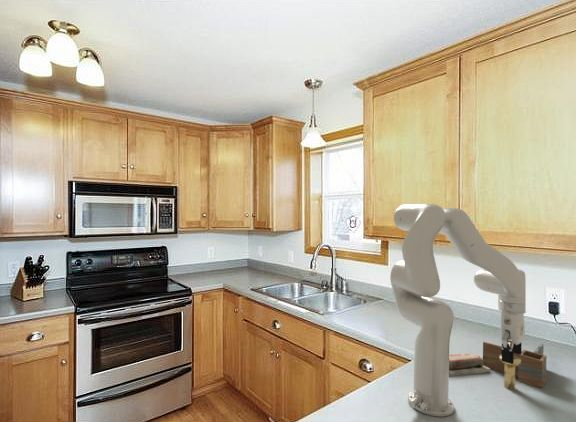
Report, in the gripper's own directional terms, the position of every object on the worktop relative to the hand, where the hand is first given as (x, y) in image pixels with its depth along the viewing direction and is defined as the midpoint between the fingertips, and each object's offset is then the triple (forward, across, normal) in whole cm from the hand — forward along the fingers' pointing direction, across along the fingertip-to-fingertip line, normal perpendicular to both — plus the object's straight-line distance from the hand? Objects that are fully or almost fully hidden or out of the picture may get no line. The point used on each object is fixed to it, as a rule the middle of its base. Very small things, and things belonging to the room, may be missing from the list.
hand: (511, 357), depth 111 cm
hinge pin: (+10, -1, 0) cm, 10 cm away
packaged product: (+10, +1, +17) cm, 20 cm away
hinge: (+10, +16, +2) cm, 19 cm away
